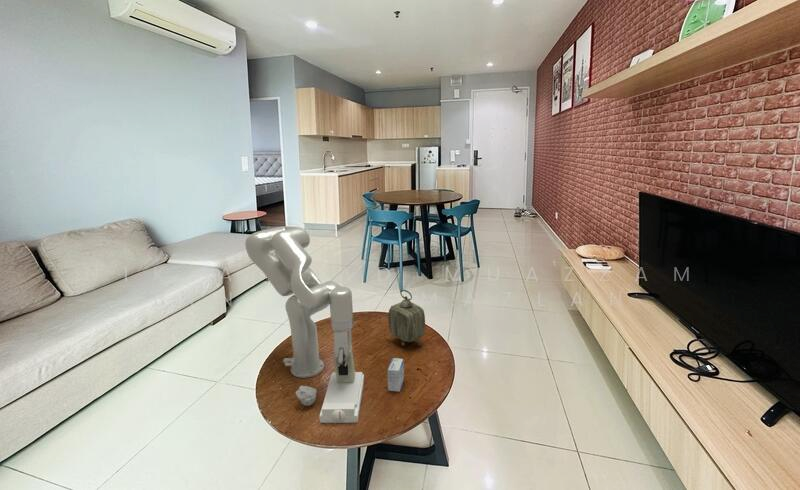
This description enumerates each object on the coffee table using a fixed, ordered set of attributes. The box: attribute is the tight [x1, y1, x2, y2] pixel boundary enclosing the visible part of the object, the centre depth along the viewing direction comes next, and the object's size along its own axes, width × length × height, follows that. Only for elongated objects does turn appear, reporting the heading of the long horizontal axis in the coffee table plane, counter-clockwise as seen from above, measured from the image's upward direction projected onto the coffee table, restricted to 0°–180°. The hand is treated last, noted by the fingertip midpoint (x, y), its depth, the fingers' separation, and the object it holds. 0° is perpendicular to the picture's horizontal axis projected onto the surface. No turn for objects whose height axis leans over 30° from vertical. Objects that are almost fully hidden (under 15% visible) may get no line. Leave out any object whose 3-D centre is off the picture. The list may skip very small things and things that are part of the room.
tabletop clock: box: [388, 289, 426, 347], centre depth 164 cm, size 14×9×25 cm, turn 42°
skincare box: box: [333, 345, 356, 383], centre depth 136 cm, size 6×4×12 cm
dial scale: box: [319, 371, 365, 424], centre depth 131 cm, size 12×22×5 cm, turn 0°
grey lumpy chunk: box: [295, 384, 318, 407], centre depth 129 cm, size 6×7×7 cm
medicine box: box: [387, 357, 405, 393], centre depth 138 cm, size 8×4×9 cm, turn 168°
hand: (345, 368), depth 136 cm, fingers open, 7 cm apart
